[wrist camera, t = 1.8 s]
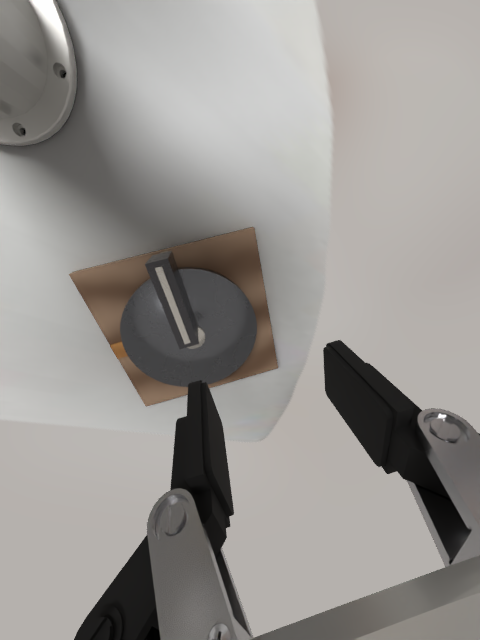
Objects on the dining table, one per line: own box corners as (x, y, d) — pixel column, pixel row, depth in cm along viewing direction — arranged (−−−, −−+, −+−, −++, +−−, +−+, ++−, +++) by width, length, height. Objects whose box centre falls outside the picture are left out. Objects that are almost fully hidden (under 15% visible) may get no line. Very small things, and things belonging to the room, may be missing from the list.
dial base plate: (73, 271, 25) (67, 275, 23) (252, 227, 26) (254, 228, 25) (147, 401, 34) (145, 408, 33) (276, 364, 35) (278, 369, 34)
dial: (87, 270, 23) (60, 285, 19) (237, 232, 24) (247, 238, 20) (154, 394, 32) (146, 426, 27) (263, 362, 33) (275, 388, 28)
